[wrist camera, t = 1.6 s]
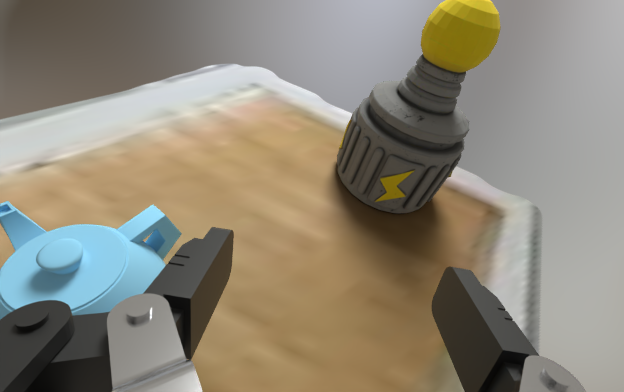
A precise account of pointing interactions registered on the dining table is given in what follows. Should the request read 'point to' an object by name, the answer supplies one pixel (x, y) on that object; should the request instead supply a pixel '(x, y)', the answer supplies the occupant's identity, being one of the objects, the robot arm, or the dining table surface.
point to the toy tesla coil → (418, 114)
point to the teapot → (82, 261)
